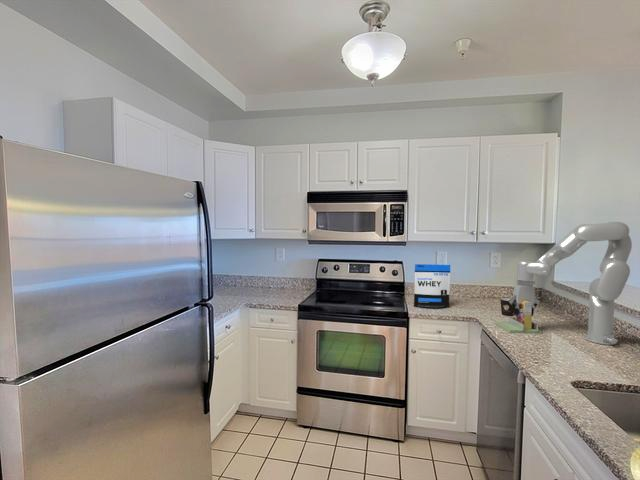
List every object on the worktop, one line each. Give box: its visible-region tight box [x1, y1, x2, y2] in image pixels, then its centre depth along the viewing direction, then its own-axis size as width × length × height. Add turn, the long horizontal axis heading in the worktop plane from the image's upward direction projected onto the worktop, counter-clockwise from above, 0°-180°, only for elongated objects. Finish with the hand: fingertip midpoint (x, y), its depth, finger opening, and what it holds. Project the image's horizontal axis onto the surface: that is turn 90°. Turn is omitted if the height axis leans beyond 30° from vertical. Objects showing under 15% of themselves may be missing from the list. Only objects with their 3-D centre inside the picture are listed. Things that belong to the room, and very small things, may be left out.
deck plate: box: [493, 320, 543, 334], centre depth 185 cm, size 16×17×2 cm
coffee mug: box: [499, 297, 515, 317], centre depth 212 cm, size 12×9×10 cm
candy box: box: [514, 301, 533, 329], centre depth 183 cm, size 9×4×15 cm, turn 179°
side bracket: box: [508, 316, 539, 331], centre depth 183 cm, size 13×8×4 cm, turn 0°
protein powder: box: [413, 263, 452, 310], centre depth 230 cm, size 10×24×30 cm, turn 88°
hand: (523, 314), depth 183 cm, fingers open, 7 cm apart
